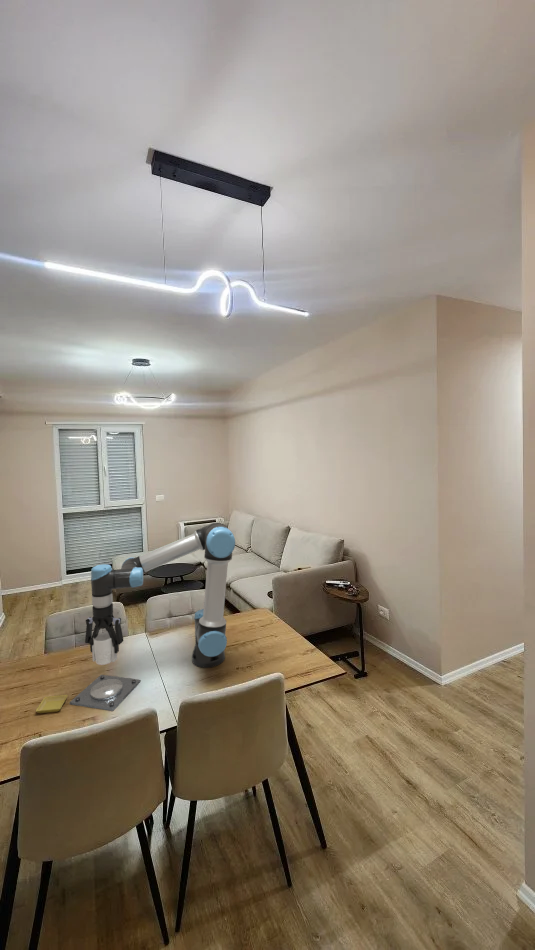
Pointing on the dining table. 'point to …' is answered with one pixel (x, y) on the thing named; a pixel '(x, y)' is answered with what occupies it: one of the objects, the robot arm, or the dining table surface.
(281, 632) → the dining table surface
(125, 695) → the panel
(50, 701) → the yellow square tray
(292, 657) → the dining table surface
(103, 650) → the white cup
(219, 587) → the robot arm
